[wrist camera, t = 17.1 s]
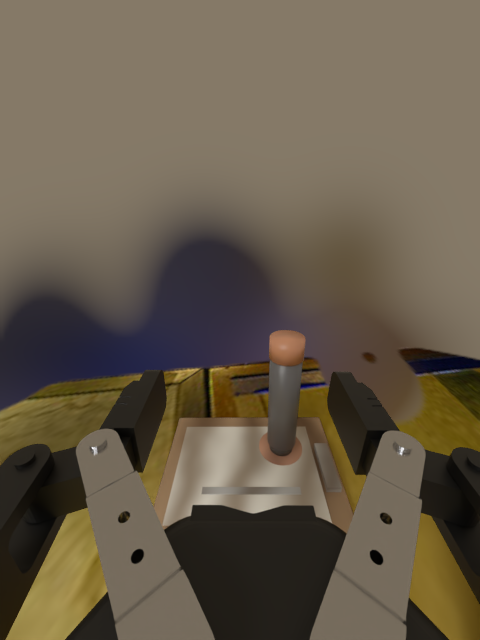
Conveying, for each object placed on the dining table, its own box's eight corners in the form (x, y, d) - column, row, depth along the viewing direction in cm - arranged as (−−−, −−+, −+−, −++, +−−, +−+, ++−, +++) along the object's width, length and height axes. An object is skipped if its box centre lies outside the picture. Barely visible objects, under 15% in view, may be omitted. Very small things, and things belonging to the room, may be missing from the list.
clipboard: (142, 554, 26) (139, 544, 25) (180, 421, 41) (179, 413, 41) (364, 555, 25) (367, 545, 25) (318, 421, 41) (319, 413, 40)
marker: (267, 459, 34) (271, 346, 28) (265, 435, 37) (268, 330, 31) (297, 458, 34) (308, 345, 28) (292, 435, 37) (301, 329, 31)
